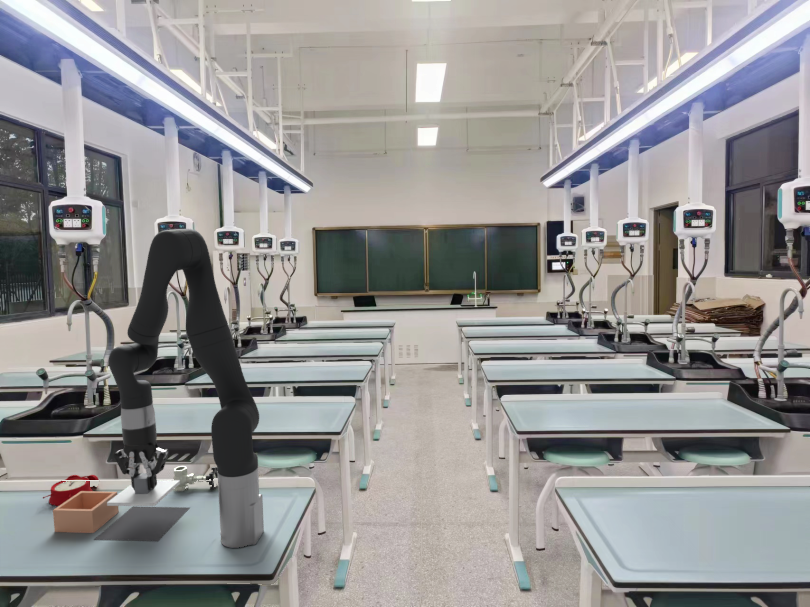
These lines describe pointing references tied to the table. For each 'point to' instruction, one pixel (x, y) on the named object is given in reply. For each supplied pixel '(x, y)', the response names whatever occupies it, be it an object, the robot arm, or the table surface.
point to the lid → (143, 492)
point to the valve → (192, 477)
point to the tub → (84, 512)
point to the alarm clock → (69, 488)
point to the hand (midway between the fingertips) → (144, 488)
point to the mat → (143, 524)
